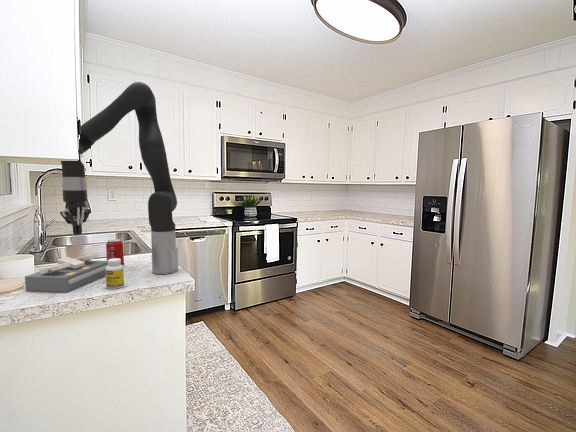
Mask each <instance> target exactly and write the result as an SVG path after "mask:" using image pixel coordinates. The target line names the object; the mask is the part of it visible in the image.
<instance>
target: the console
mask: <svg viewBox="0 0 576 432" xmlns="http://www.w3.org/2000/svg"><path fill="white" fill-rule="evenodd" d="M107 266H109V265H108V261H107V260H90V261H87V262H85V265H84V266H82V267H79V268H76V269H74V268H70V267H68V268H63V270H60V271H57V272H54V273H51V274H49V273H48V272H47V273H43V274H40V271H37V272H34V273H32V274H28V275H26V276H24V282H25V284H24V285H25V292H36V293H37V292H41V293H65V294H67V293H69V292H71V291H73V290H77V289H78V288H81V287H82V286H84V285H87V284H89V283H91V282H94V281H96V280H98V279H101V278H103V277H106V267H107Z"/></svg>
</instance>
